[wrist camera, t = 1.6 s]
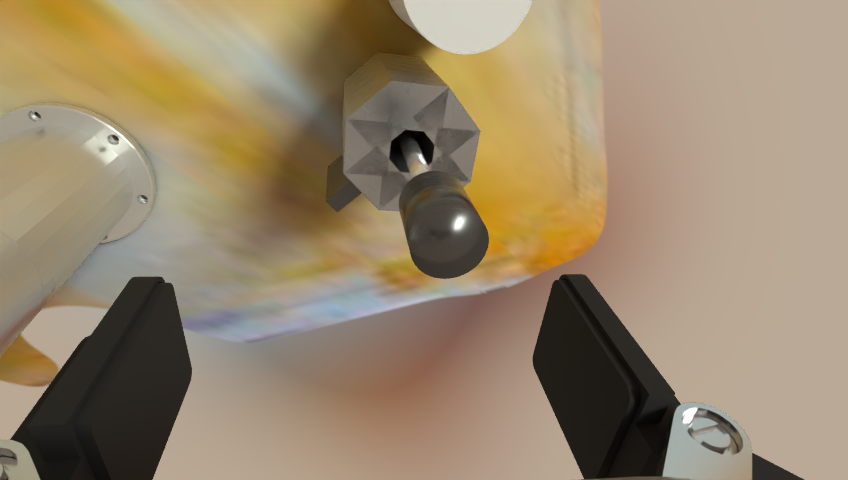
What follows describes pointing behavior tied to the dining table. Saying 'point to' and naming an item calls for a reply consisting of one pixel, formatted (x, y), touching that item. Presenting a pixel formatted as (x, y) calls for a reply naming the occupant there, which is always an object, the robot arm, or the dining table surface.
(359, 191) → the octagonal faceted vessel
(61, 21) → the dining table surface
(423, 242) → the plunger
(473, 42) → the light grey cylinder
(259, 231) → the dining table surface
